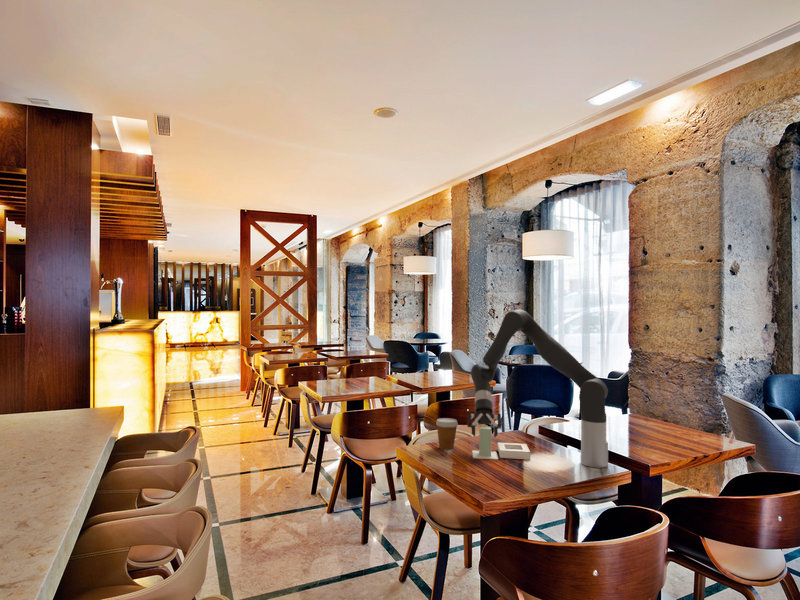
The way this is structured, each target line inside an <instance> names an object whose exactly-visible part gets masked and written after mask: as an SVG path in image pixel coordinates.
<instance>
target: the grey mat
mask: <svg viewBox="0 0 800 600" xmlns="http://www.w3.org/2000/svg"><path fill="white" fill-rule="evenodd" d="M471 453H472V459H478V460H480V459H481V460H494V461H499V456H498V453H497V451H492V450H491V456H480V455H479V450H472V451H471Z"/></svg>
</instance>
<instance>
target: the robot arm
mask: <svg viewBox="0 0 800 600" xmlns="http://www.w3.org/2000/svg"><path fill="white" fill-rule="evenodd" d="M519 331H521V333H522V334H524V335H525V336H526V337H528V339H529V340H530V341H531V342H532V343H533V346H534V347H535V350H536V351H537V353H538V355H539V356H540V357H541V358H542V359H543V360H544V361H545V362H546V363H547V364H548V365H549V366H551V367H552V368H553V369H554V370H556V371H558V372H559V373H561V374H563V375H564V376H565V377H567V378H569V379H570V380H571V381H572V382H574V383H575V385H576V386H577V387H578V388H579V412H580V418H581V421H580V423H581V424H580V426H581V427H580V429H581V430H580V463H581V464H582V465H583V466H586V467H590V468H597V469H599V468H600V469H602V468H608V467H609V442H608V441H607V414H606V399H607V397H608V393H609V389H608V387H607V385H606V383H605V382H604V381H603V380H601V378H599V377H597V376H596V375H595V374H593V373H592V372H590V371H589V370H588V369H587V368H585V367H584V366H583V365H582V364H581V363H580V361H578V360H577V358H575V357H574V355H572V354H571V353H570V352H569V351H568V350H567V349H566V348H565V347H564V346H563V345H561V343H559V342H558V341H557V340H556V339H554V338H553V336H552V335H550V334H549V333H548V332H547V331H546V330H544V329H543V328H542V327H541V326H540V325H539V323H537V321H536V320H535V319H534V318H533V317H532V316H531V314H529V312H527V311H525V310H523V309H519V308H518V309H517V308H516V309H514V310H513V309H512V310H510V311H508V312H506V314H505V315H504V317H503V319H502V322H501V324H500V327H499V329H498V331H497V333H496V336H495V337H494V340H493V342H492V343H491V345H490V347H489V348H488V349H487V351H486V353H485V355H484V356H483V358H482V361H483V363H484V364H485V365H486V366H485V365H482V364H478V363H476V364H474V365H473V366H472V368H471V371H470V376H471V380H472V382H473V385H474V389H475V390H474V391H475V392H474V394H475V395H474V413H471V411H469V412H468V413H467V424H466V425H467V428H471V435H473V437H476V427H477V426H478V425H479V424H480V425H490V426H489V427H491V428H493V438H496V437H497V436H498V433H499V432H498V431H499V429H500V430H501V429H502V417H501V413H497V414H494V412H493V411H494V410H493V408H494V407H493V396H492V387H491V384H490V383H491V382H492V381H493V380H494V378H495V373H496V370H497V367H498V365H499V363H500V362H501V360H502V358H503V357H504V355H505V353H506V350H507V348H508V347H507V346H508V344H509V342H510V340H511V339H512V338H513V337H514V336H515V334H516V333H517V332H519ZM473 418H474V421H473V422H471V420H473ZM494 419H495V420H496V421H497V423H496V422H495V420H494Z"/></svg>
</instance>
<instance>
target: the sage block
mask: <svg viewBox="0 0 800 600" xmlns="http://www.w3.org/2000/svg"><path fill="white" fill-rule="evenodd" d="M478 431H479V432H478V433H479V435H478V436H479V437H478V444H479V445H478V448H479V449H478V451H479V455H480V456H491V451H492V426H485V425H484V426H483V425H480V426H479V430H478Z"/></svg>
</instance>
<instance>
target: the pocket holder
mask: <svg viewBox="0 0 800 600" xmlns="http://www.w3.org/2000/svg"><path fill="white" fill-rule="evenodd" d="M497 452H499V453H498V455H499V456H498V457H499V459H504V458H505V459H515V460H516V459H519V460H520V459H521V460H531V451H530V449H529V447H528V445H527V443H516V442H515V443H514V442H497Z"/></svg>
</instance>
